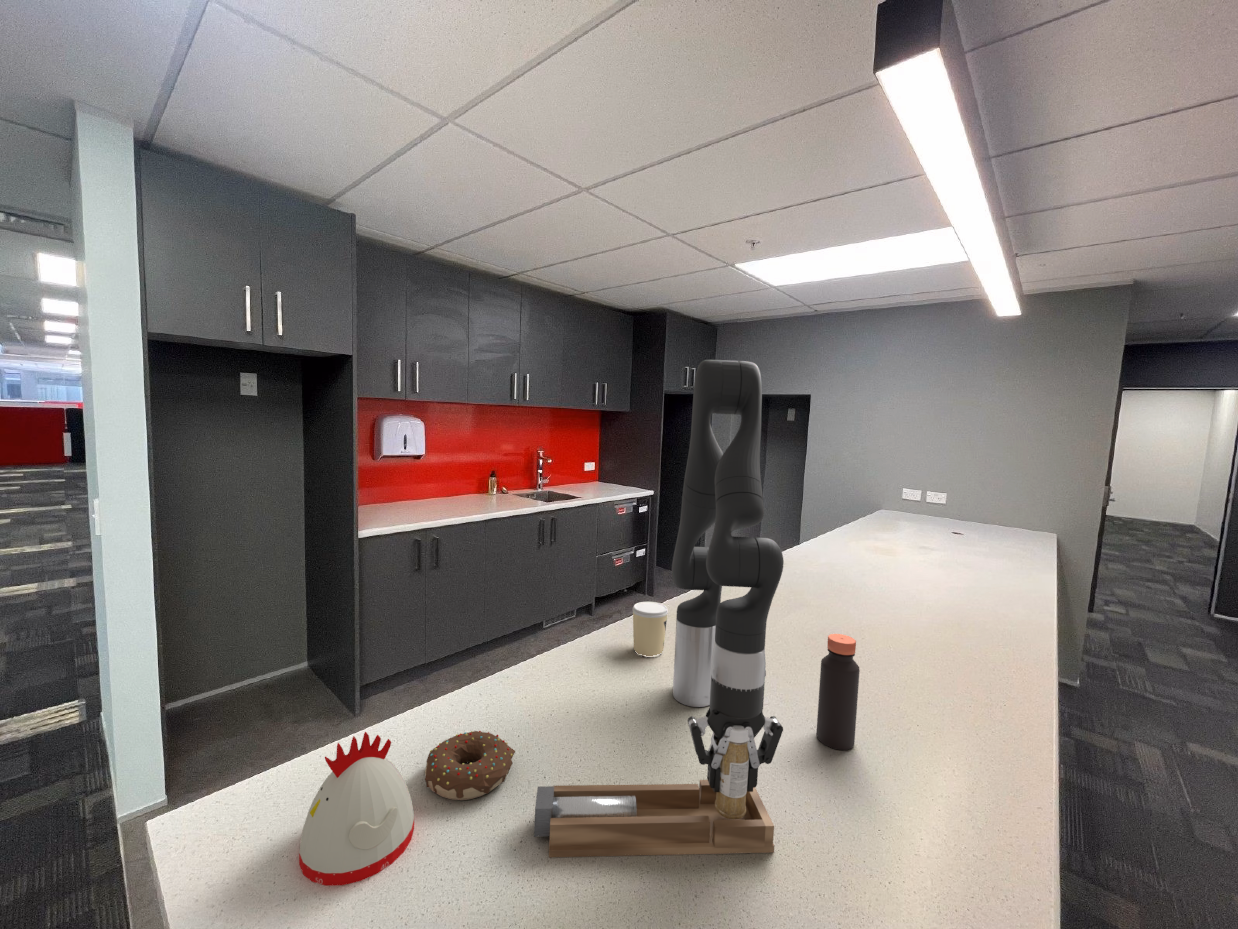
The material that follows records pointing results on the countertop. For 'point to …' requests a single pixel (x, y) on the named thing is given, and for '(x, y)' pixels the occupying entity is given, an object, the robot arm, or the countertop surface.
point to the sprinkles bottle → (734, 776)
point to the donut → (468, 765)
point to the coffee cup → (649, 627)
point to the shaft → (578, 808)
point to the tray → (661, 824)
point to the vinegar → (838, 694)
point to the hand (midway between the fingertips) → (731, 787)
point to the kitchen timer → (356, 817)
